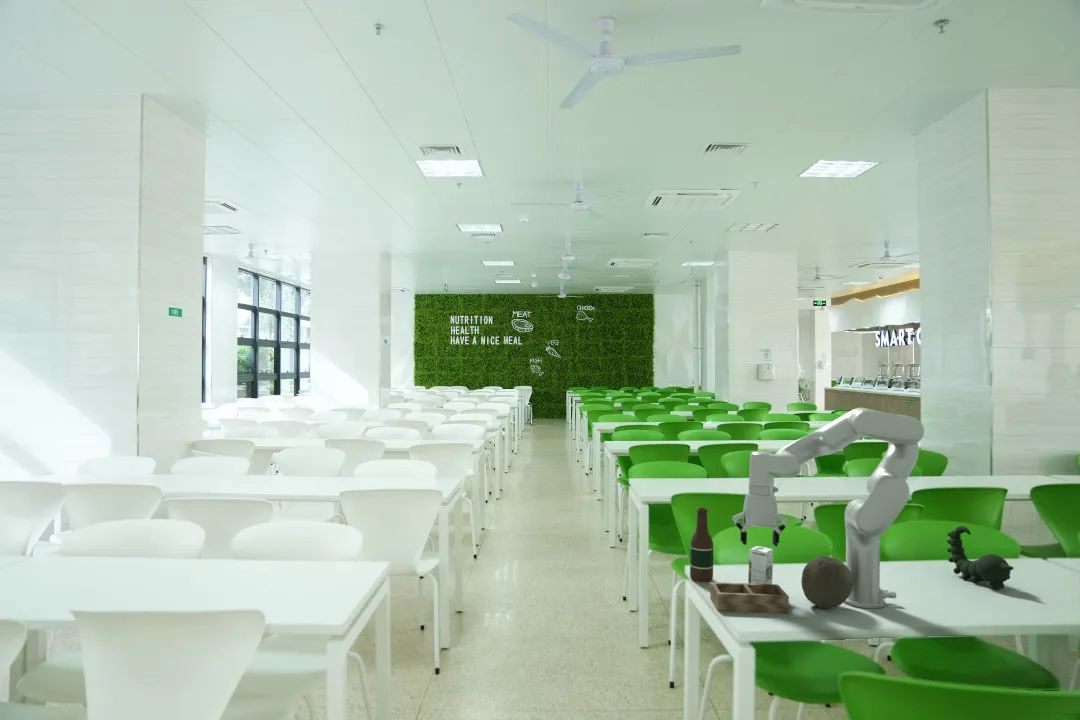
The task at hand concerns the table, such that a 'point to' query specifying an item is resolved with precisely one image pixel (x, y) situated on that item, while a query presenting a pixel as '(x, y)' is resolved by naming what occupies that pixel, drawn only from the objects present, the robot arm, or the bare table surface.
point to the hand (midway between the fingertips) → (759, 544)
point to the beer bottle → (701, 550)
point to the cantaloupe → (826, 582)
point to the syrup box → (760, 565)
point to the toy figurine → (977, 563)
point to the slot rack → (749, 597)
